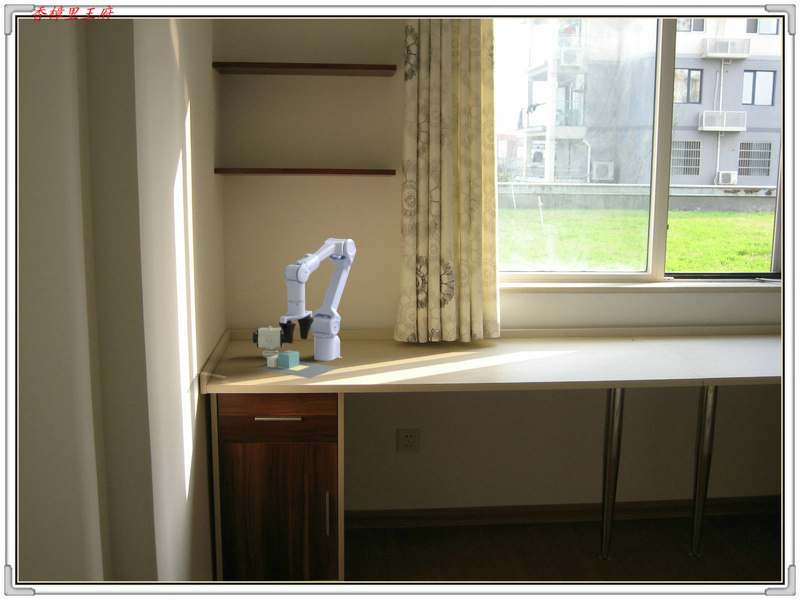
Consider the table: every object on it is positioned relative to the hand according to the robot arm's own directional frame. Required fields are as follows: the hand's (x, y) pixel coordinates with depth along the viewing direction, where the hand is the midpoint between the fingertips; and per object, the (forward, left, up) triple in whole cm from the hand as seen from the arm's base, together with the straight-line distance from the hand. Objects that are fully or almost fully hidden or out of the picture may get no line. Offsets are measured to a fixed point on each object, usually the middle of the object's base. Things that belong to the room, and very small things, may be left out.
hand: (296, 341), depth 232 cm
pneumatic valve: (-6, -17, -10) cm, 20 cm away
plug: (+1, -3, -9) cm, 9 cm away
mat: (+1, +1, -10) cm, 10 cm away
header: (+1, -6, -9) cm, 10 cm away
